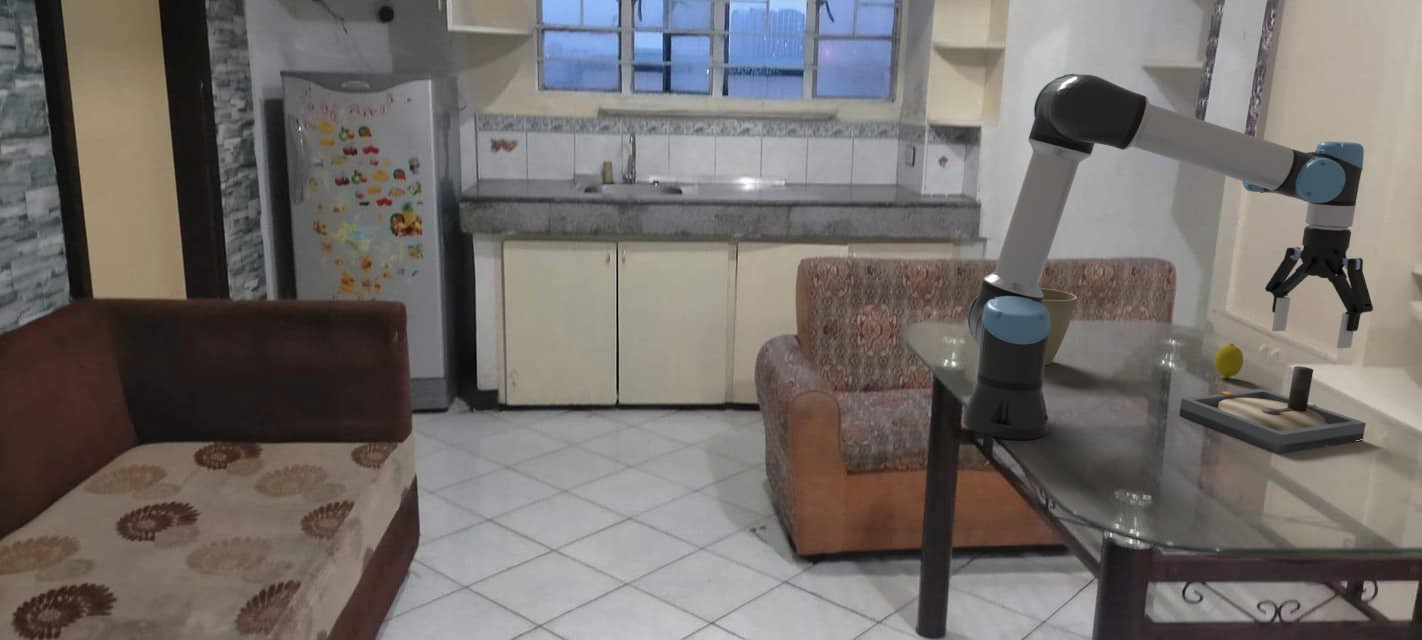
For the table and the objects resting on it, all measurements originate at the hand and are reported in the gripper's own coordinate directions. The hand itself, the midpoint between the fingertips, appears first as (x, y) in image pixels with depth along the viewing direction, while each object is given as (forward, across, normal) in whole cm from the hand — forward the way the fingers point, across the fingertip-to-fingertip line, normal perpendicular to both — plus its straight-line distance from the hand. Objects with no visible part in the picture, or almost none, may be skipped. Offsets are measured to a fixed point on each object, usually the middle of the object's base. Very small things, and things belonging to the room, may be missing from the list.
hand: (1310, 338), depth 197 cm
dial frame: (+17, 0, +7) cm, 18 cm away
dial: (+15, 0, +7) cm, 17 cm away
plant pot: (+17, +52, +19) cm, 58 cm away
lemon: (+17, +28, -14) cm, 36 cm away
